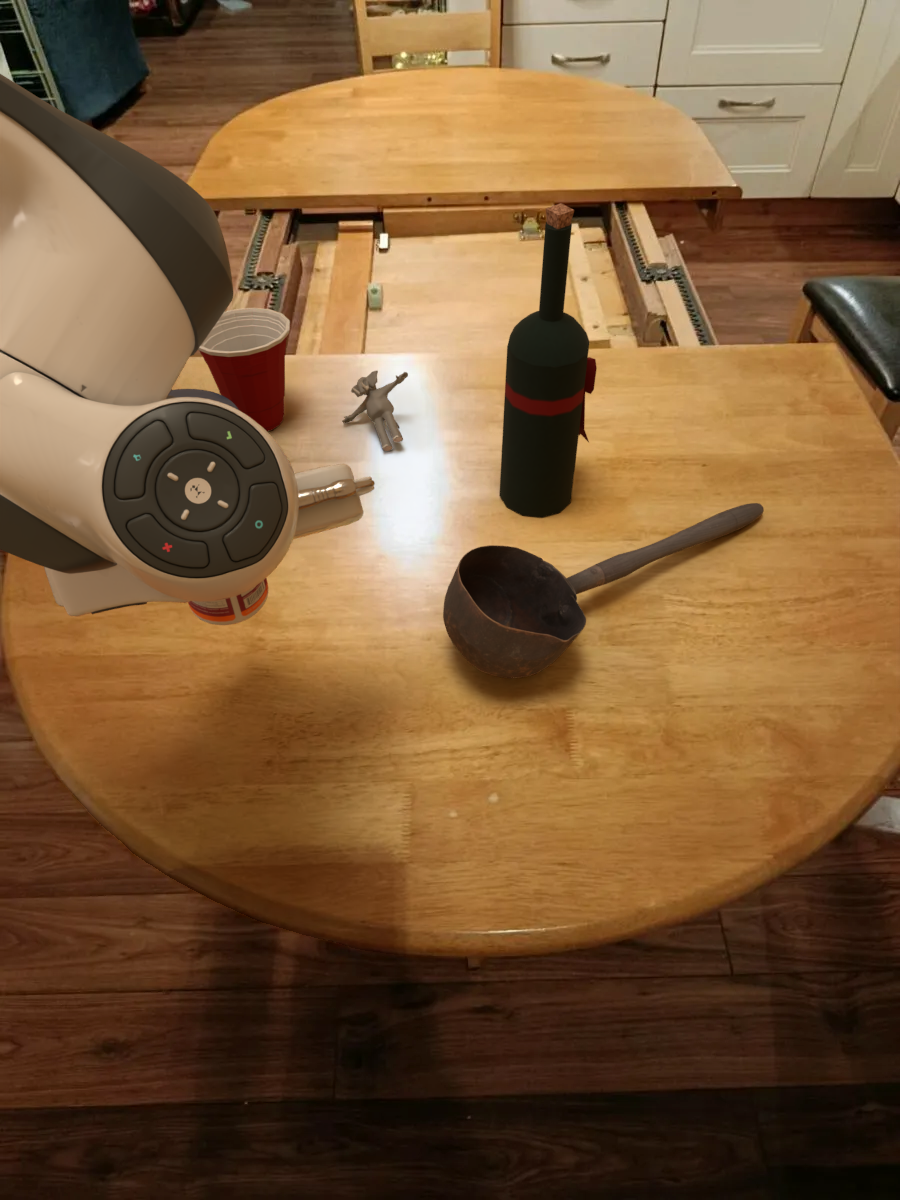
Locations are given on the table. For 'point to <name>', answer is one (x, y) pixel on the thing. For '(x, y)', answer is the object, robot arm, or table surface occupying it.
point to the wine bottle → (545, 389)
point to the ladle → (545, 597)
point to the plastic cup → (250, 361)
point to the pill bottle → (232, 606)
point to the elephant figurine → (378, 407)
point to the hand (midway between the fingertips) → (211, 538)
